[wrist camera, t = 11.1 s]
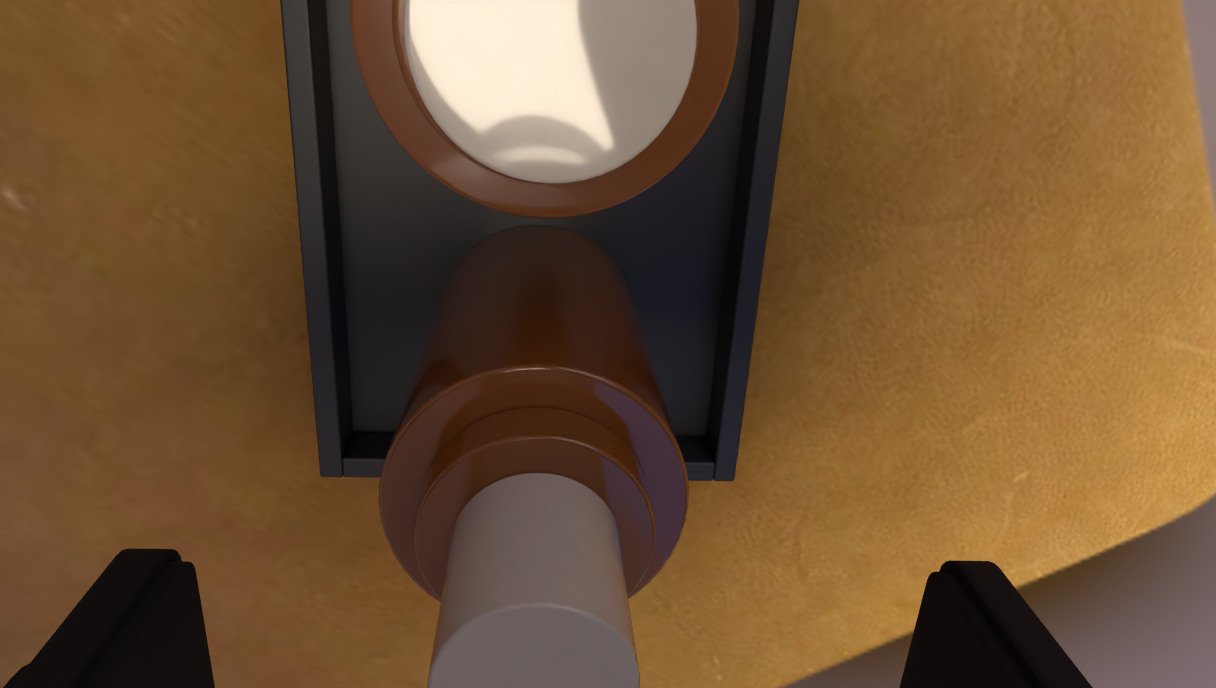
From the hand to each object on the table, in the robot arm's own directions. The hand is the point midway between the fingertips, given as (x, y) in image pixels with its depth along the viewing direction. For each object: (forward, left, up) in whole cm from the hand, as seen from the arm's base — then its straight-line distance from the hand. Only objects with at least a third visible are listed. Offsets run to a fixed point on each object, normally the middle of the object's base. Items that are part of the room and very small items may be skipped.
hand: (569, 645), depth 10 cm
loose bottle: (0, 0, -12) cm, 12 cm away
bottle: (0, -7, -12) cm, 14 cm away
